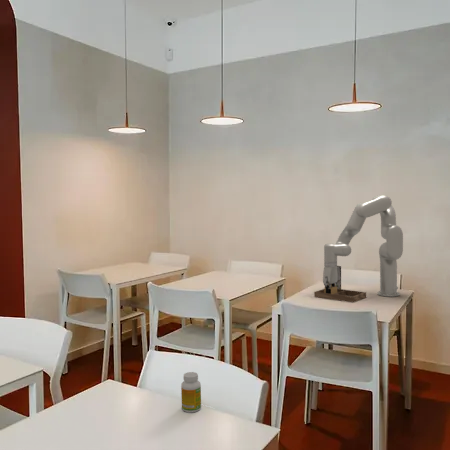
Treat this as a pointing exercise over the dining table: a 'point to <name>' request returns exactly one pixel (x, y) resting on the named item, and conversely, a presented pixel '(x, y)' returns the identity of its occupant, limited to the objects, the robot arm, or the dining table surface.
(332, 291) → the marked cube
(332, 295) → the organiser
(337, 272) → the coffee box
